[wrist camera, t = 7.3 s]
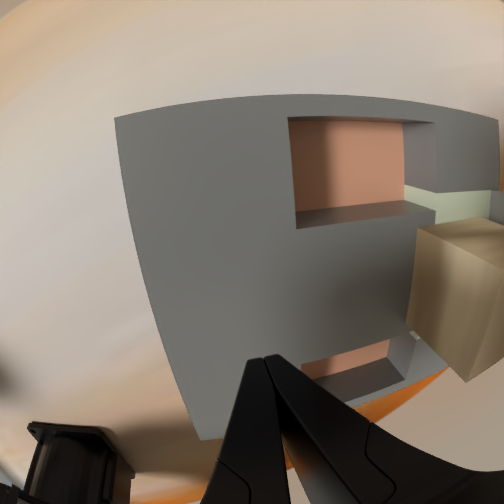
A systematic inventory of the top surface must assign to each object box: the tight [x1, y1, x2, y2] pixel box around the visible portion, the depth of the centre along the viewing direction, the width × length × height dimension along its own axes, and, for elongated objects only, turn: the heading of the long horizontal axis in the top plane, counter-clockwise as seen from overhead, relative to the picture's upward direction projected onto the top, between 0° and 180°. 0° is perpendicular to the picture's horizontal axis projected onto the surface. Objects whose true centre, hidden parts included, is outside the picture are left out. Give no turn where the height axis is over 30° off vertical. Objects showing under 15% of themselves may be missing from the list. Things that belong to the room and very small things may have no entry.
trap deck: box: [114, 94, 504, 441], centre depth 11 cm, size 16×14×4 cm
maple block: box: [406, 217, 504, 382], centre depth 9 cm, size 4×4×4 cm
